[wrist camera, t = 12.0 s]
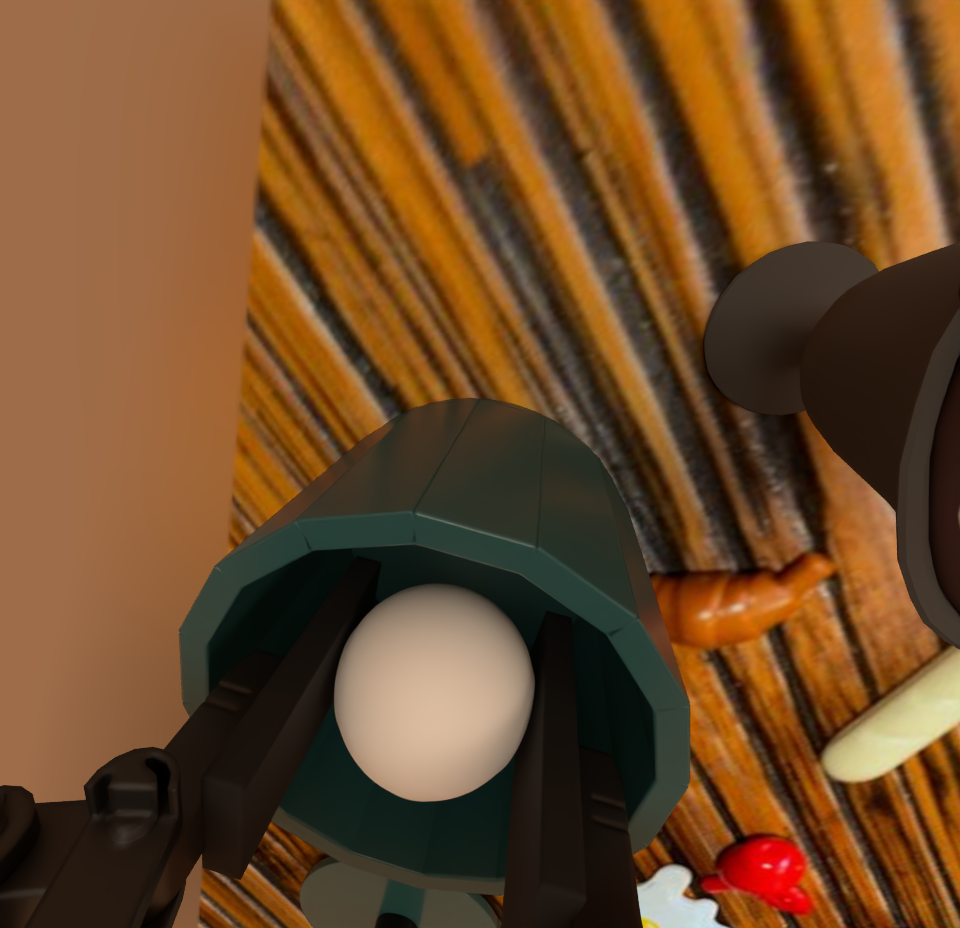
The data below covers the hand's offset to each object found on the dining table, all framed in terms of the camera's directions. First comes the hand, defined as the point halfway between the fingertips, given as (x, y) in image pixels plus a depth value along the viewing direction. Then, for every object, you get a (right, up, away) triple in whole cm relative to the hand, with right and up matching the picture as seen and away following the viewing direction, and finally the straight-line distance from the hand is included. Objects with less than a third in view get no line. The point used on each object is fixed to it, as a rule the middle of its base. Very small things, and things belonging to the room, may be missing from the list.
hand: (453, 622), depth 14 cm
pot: (+1, +2, +4) cm, 5 cm away
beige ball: (0, 0, 0) cm, 0 cm away
